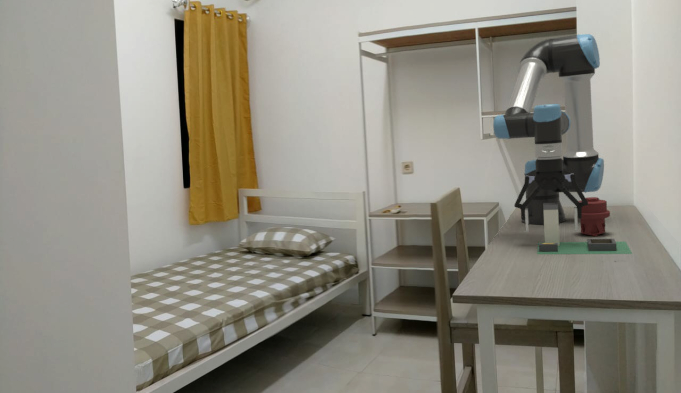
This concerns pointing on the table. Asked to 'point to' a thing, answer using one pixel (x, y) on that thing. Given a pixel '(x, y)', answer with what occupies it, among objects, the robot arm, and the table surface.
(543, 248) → the board
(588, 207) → the mechanical component
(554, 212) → the plug
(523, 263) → the table surface
